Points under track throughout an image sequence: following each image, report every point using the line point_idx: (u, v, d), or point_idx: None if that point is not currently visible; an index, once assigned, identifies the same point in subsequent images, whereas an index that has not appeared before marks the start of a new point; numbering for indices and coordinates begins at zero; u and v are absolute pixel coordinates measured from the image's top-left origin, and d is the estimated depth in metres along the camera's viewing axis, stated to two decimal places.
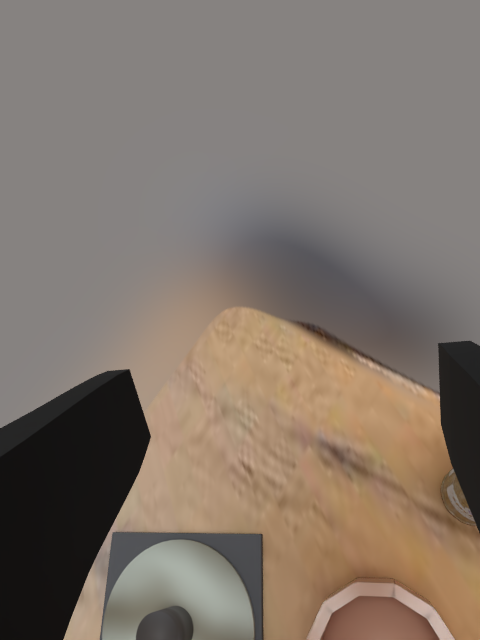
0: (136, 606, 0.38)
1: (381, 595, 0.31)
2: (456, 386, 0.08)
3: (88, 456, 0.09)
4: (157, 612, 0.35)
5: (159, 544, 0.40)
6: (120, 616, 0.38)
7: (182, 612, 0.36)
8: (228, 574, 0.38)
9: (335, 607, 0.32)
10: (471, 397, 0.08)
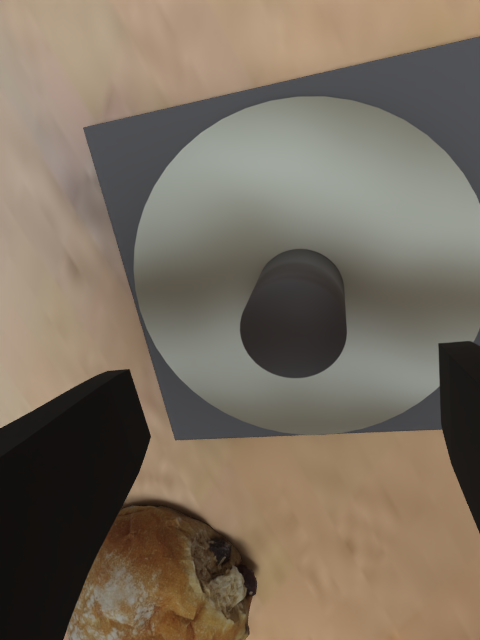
0: (201, 267, 0.17)
1: None
2: (456, 386, 0.08)
3: (89, 457, 0.09)
4: (283, 283, 0.13)
5: (216, 126, 0.15)
6: (171, 291, 0.18)
7: (320, 261, 0.15)
8: (422, 155, 0.14)
9: None
10: (471, 397, 0.08)
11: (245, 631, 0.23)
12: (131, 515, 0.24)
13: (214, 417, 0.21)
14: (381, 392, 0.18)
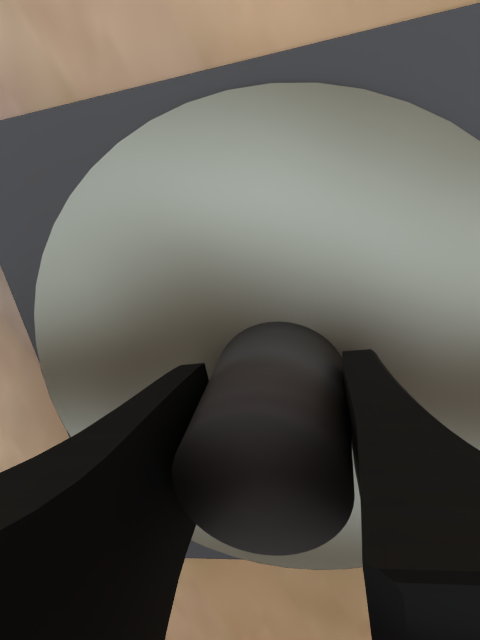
0: (133, 343, 0.12)
1: None
2: (346, 393, 0.09)
3: None
4: (241, 414, 0.07)
5: (141, 133, 0.09)
6: (93, 374, 0.12)
7: (310, 348, 0.10)
8: (479, 181, 0.09)
9: None
10: (350, 404, 0.08)
11: None
12: None
13: None
14: None
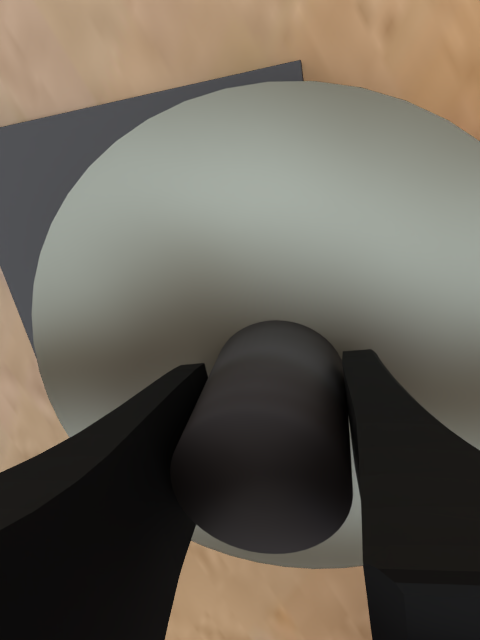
0: (131, 342, 0.12)
1: None
2: (346, 393, 0.09)
3: None
4: (240, 412, 0.07)
5: (139, 132, 0.09)
6: (91, 374, 0.12)
7: (309, 347, 0.10)
8: (476, 179, 0.09)
9: None
10: (350, 404, 0.08)
11: None
12: None
13: None
14: None
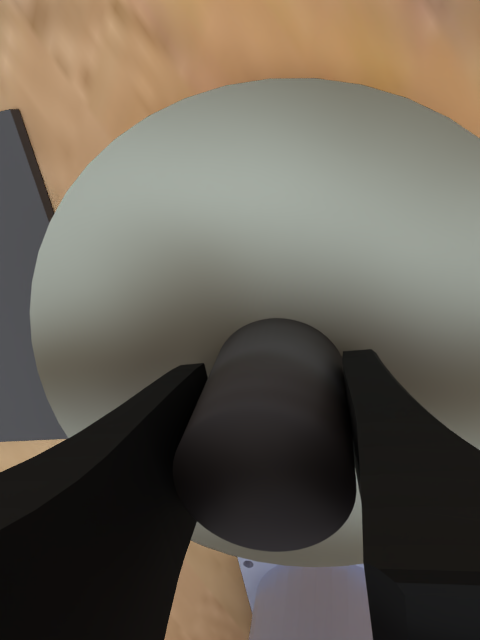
0: (130, 341, 0.11)
1: None
2: (347, 393, 0.09)
3: None
4: (243, 409, 0.07)
5: (139, 129, 0.09)
6: (89, 373, 0.12)
7: (310, 344, 0.10)
8: (476, 177, 0.09)
9: None
10: (350, 404, 0.08)
11: None
12: None
13: None
14: None
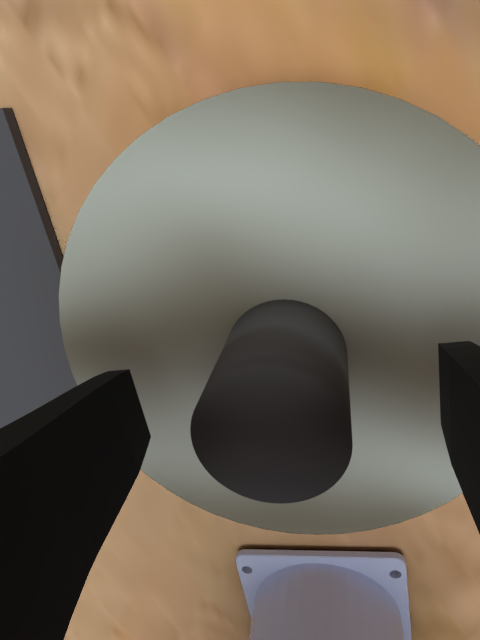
0: (150, 320, 0.13)
1: None
2: (456, 386, 0.08)
3: (89, 457, 0.09)
4: (253, 372, 0.09)
5: (161, 127, 0.10)
6: (112, 350, 0.13)
7: (313, 322, 0.11)
8: (464, 170, 0.10)
9: None
10: (471, 397, 0.08)
11: None
12: None
13: None
14: (397, 487, 0.13)
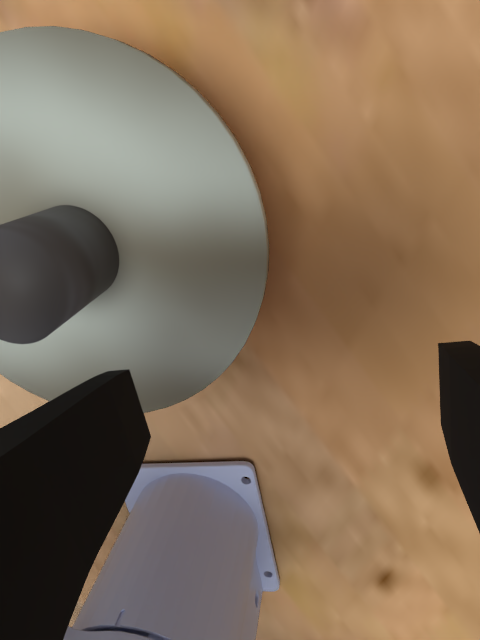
0: None
1: None
2: (456, 386, 0.08)
3: (88, 456, 0.09)
4: None
5: None
6: None
7: (72, 216, 0.14)
8: (167, 93, 0.13)
9: None
10: (471, 397, 0.08)
11: None
12: None
13: None
14: (178, 366, 0.17)
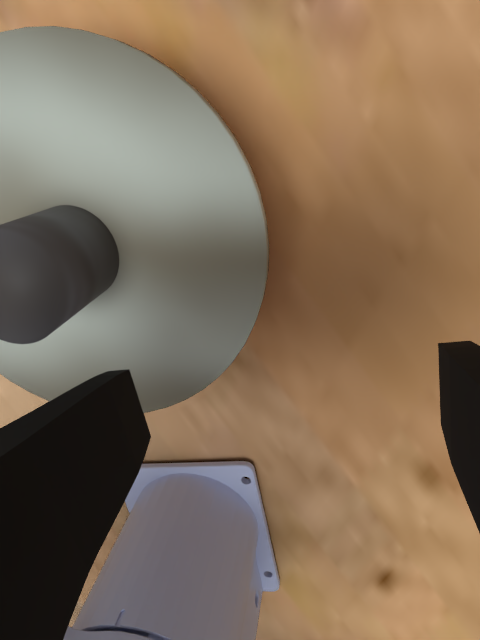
0: None
1: None
2: (456, 386, 0.08)
3: (88, 456, 0.09)
4: None
5: None
6: None
7: (72, 216, 0.14)
8: (167, 93, 0.13)
9: None
10: (471, 397, 0.08)
11: None
12: None
13: None
14: (178, 366, 0.17)
